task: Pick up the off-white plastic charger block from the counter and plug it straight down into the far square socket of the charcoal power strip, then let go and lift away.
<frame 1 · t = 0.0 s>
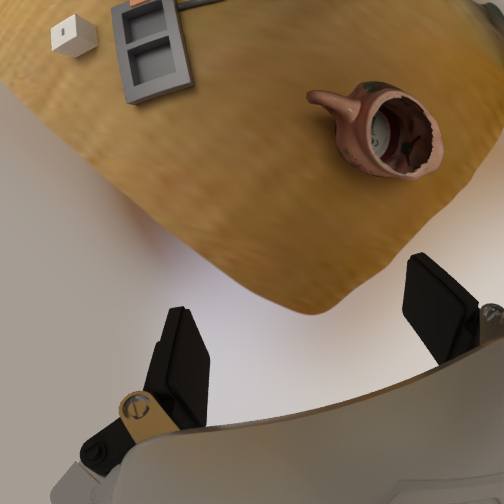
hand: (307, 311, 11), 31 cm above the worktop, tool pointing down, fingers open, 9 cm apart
decorative planter: (352, 126, 36), on the worktop
power strip: (153, 45, 29), on the worktop
charger: (85, 41, 27), on the worktop
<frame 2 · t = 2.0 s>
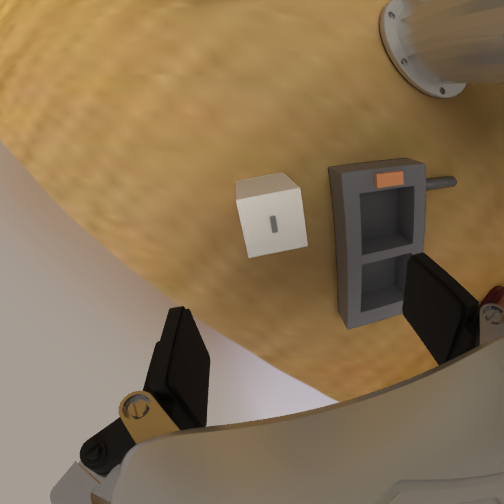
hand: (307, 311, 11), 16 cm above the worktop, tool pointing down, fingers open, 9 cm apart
decorative planter: (485, 306, 35), on the worktop
power strip: (373, 239, 28), on the worktop
charger: (263, 198, 26), on the worktop
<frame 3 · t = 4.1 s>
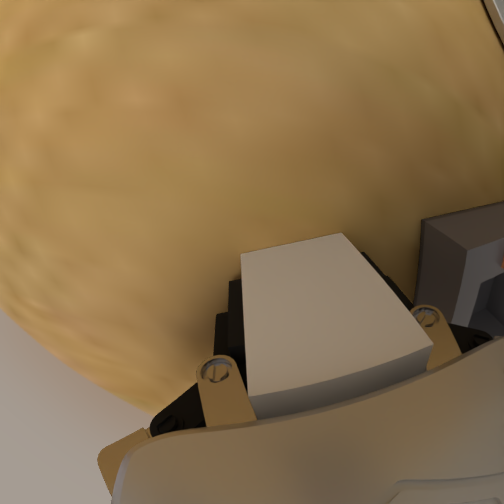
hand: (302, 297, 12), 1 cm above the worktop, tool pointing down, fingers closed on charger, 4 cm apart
power strip: (455, 323, 15), on the worktop
charger: (298, 286, 12), on the worktop, touching gripper
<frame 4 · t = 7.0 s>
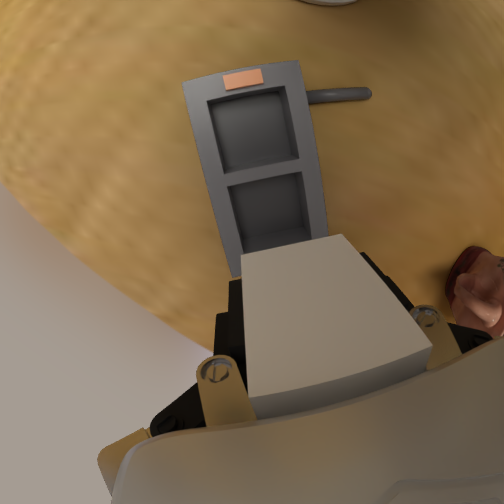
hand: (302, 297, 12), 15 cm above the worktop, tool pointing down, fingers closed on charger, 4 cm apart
decorative planter: (459, 272, 31), on the worktop
power strip: (259, 166, 24), on the worktop
charger: (298, 287, 12), point 14 cm above the worktop, touching gripper
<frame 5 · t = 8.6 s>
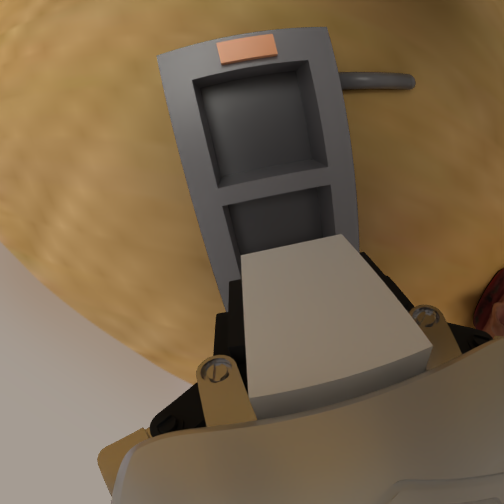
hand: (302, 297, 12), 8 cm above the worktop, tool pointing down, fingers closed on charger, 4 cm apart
decorative planter: (488, 296, 25), on the worktop
power strip: (268, 174, 17), on the worktop
charger: (298, 287, 12), point 7 cm above the worktop, touching gripper
when the fingers open (4 cm above the worktop, at t = 9.9 s): charger drops 3 cm, resting on power strip.
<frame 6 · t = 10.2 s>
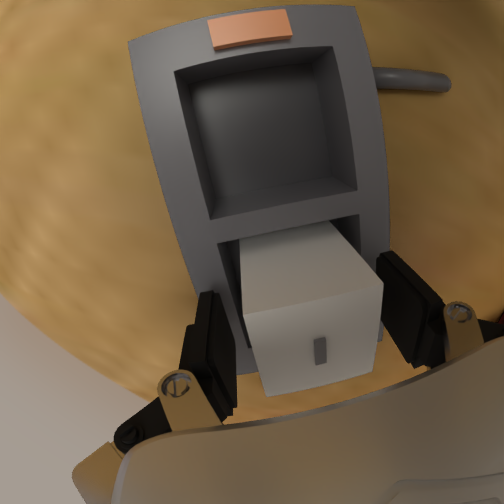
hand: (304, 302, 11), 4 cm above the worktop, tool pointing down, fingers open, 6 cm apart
power strip: (276, 194, 14), on the worktop
charger: (286, 258, 15), resting on power strip
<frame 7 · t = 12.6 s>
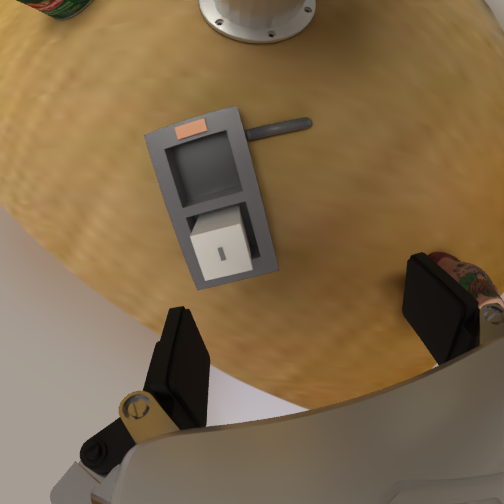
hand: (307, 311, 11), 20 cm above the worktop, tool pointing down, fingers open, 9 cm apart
decorative planter: (424, 278, 35), on the worktop
power strip: (216, 196, 29), on the worktop
charger: (224, 228, 30), resting on power strip
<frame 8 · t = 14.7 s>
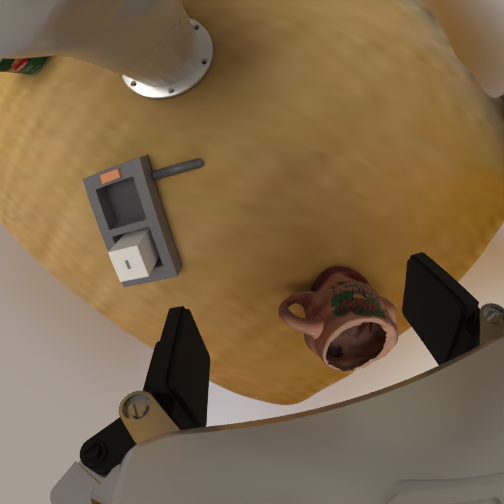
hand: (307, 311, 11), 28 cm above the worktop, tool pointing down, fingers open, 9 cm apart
decorative planter: (326, 288, 45), on the worktop
canned tomato: (38, 52, 24), on the worktop
power strip: (136, 219, 38), on the worktop
charger: (143, 242, 39), resting on power strip
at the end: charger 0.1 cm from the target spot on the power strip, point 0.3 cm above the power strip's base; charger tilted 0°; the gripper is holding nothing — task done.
